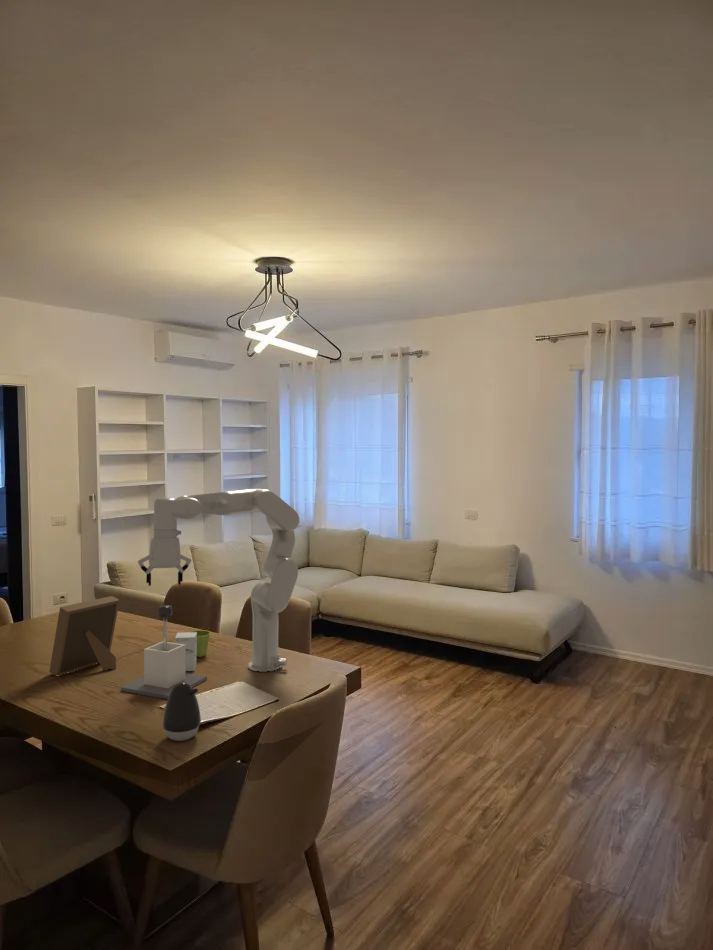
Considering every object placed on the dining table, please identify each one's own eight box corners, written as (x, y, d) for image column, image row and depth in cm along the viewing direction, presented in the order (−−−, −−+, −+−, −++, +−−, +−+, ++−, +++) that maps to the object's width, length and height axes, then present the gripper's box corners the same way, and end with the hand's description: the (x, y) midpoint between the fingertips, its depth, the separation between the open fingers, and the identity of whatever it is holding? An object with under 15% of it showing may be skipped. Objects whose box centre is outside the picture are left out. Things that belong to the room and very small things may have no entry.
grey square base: (206, 679, 221) (207, 642, 220) (170, 699, 202) (170, 658, 202) (160, 672, 228) (160, 635, 227) (120, 690, 209) (120, 651, 209)
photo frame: (49, 674, 223) (49, 604, 223) (101, 658, 242) (102, 594, 242) (76, 683, 216) (76, 610, 215) (127, 665, 235) (128, 599, 234)
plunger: (180, 655, 217) (180, 605, 216) (167, 661, 210) (167, 609, 210) (163, 653, 219) (163, 603, 219) (149, 658, 213) (150, 607, 212)
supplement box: (174, 672, 228) (174, 637, 228) (176, 665, 235) (176, 632, 235) (195, 671, 229) (195, 636, 229) (196, 664, 236) (197, 631, 236)
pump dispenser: (184, 748, 168) (184, 692, 168) (154, 740, 173) (154, 685, 172) (208, 733, 178) (209, 680, 177) (179, 726, 182) (180, 674, 182)
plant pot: (196, 660, 241) (196, 638, 241) (181, 655, 247) (181, 633, 247) (215, 654, 249) (215, 632, 249) (200, 650, 254) (200, 628, 254)
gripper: (190, 532, 220) (189, 581, 220) (138, 533, 214) (137, 583, 215) (192, 535, 213) (191, 585, 213) (138, 536, 207) (137, 587, 207)
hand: (164, 584), depth 214 cm, fingers open, 9 cm apart
